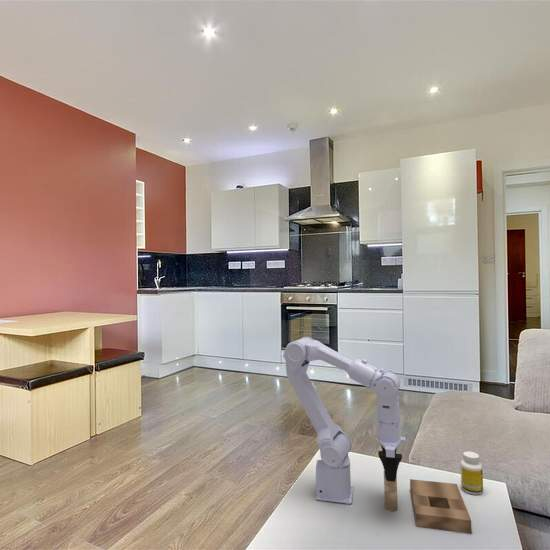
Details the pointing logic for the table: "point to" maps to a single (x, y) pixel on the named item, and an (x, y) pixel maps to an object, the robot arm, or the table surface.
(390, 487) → the beech peg
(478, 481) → the supplement bottle
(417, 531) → the table surface
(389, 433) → the robot arm
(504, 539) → the table surface
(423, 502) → the walnut socket board
